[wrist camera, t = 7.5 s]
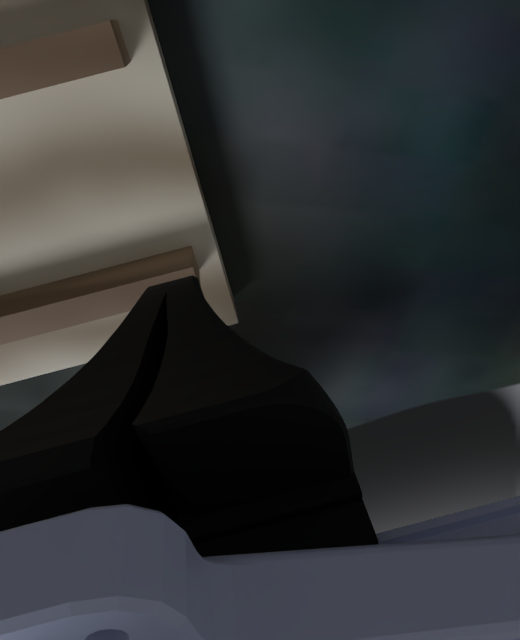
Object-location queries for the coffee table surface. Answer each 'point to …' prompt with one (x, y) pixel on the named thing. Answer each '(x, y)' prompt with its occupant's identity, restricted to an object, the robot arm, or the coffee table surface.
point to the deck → (91, 182)
